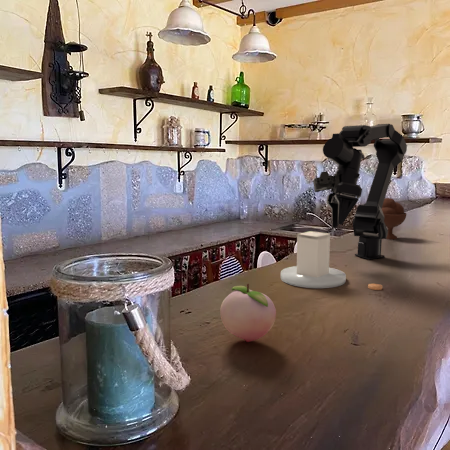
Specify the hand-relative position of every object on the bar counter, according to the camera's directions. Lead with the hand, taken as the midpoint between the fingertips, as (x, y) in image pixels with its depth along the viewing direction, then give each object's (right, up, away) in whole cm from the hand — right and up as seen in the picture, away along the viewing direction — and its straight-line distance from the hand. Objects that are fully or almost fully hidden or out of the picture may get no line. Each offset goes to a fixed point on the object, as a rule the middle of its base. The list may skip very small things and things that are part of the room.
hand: (336, 226), depth 120 cm
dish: (-8, -13, -8) cm, 17 cm away
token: (+5, -14, -15) cm, 22 cm away
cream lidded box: (-8, -12, -8) cm, 16 cm away
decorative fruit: (-26, -19, -46) cm, 56 cm away
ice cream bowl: (+32, -5, +48) cm, 58 cm away
